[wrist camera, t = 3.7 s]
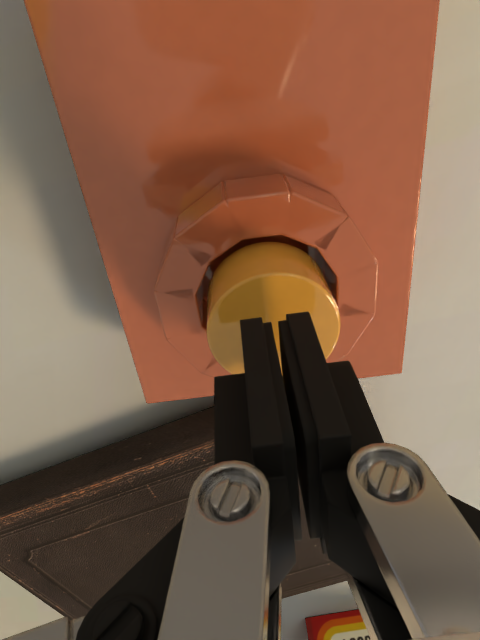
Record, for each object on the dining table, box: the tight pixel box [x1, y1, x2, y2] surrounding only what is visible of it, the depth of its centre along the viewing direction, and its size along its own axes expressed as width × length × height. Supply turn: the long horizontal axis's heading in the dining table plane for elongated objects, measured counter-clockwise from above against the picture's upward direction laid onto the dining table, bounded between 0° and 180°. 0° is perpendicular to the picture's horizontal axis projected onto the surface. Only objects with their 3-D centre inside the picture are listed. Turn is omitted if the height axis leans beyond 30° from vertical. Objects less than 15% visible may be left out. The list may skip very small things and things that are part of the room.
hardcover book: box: [0, 407, 347, 621], centre depth 27 cm, size 16×23×2 cm
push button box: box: [24, 0, 440, 404], centre depth 15 cm, size 14×10×6 cm
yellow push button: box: [206, 242, 341, 374], centre depth 13 cm, size 4×4×2 cm
